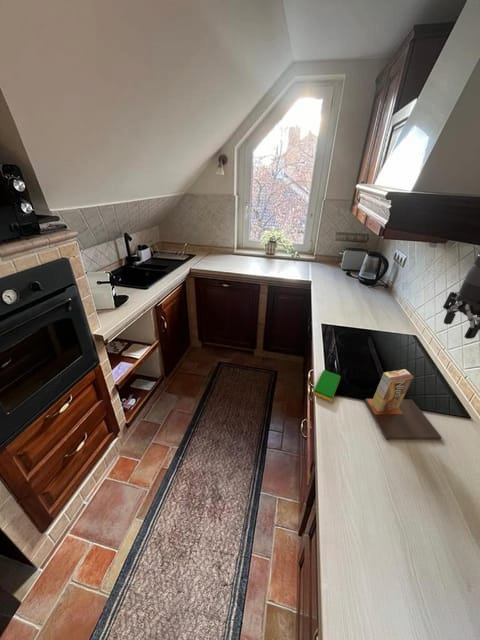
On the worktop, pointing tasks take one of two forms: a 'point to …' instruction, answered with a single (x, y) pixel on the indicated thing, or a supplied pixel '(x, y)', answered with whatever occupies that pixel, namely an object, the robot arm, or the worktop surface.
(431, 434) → the board
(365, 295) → the worktop surface
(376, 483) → the worktop surface
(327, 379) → the dish sponge
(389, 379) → the candy box
